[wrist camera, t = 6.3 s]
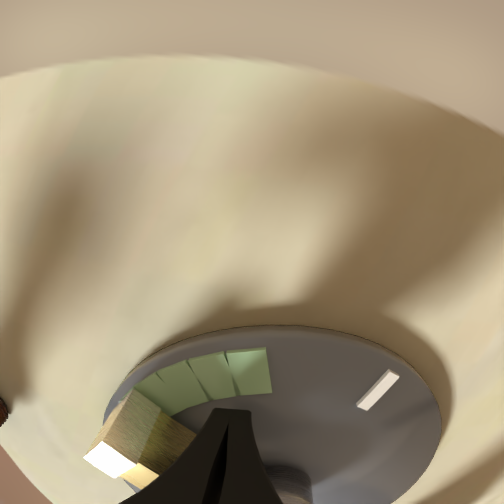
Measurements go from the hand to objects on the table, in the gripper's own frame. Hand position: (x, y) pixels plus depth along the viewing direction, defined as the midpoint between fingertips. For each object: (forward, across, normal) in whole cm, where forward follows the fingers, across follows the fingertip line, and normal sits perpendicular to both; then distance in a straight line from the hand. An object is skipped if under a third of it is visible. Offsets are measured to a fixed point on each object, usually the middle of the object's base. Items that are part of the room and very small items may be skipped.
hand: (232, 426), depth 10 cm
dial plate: (+2, -2, +6) cm, 6 cm away
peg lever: (+1, +1, +3) cm, 4 cm away
